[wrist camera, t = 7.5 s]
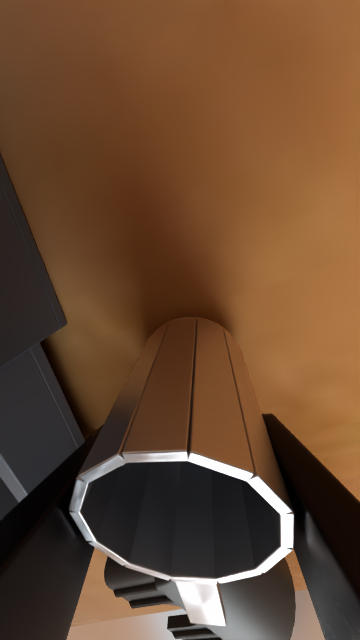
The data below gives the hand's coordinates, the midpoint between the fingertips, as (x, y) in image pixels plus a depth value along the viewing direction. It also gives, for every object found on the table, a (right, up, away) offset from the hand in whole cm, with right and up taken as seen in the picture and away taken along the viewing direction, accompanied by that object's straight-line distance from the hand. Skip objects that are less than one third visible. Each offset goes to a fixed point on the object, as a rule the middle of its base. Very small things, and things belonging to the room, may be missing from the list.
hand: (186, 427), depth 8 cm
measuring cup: (+1, 0, +5) cm, 5 cm away
